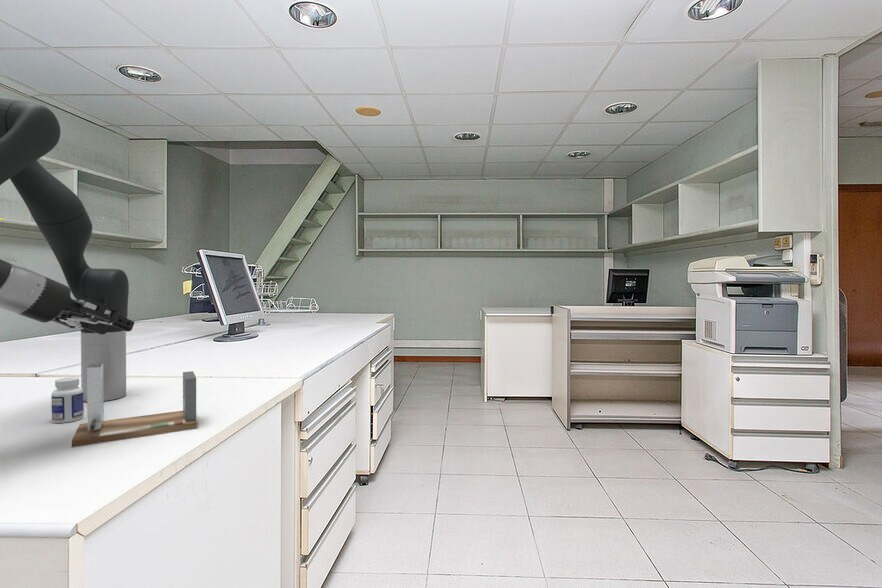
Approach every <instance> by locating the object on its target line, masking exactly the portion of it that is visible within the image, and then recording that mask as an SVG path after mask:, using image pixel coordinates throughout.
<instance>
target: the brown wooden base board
mask: <svg viewBox="0 0 882 588" xmlns="http://www.w3.org/2000/svg"><path fill="white" fill-rule="evenodd" d="M194 429H198V422H197V420H196V421H190V422H185V419H184V414H183V410H177V411H168V412H161V413H155V414H145V415H137V416H131V417H122V418H116V419H107V420H104V421H103V424H102V427H101V429H97V430H89V431H88V422H85V423H79V425H78V427H77V429H76V431H75V433H74V435H73V437H72V439H71V448H74V447H82V446H88V445H89V446H90V445H95V444H96V445H97V444H102V443H109V442H114V441H115V442H116V441H120V440H121V441H122V440H128V439H129V440H130V439H134V438H142V437H148V436H154V435H161V434H167V433H168V434H169V433H174V432H181V431H187V430H194Z"/></svg>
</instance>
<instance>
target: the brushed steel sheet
mask: <svg viewBox="0 0 882 588" xmlns="http://www.w3.org/2000/svg"><path fill="white" fill-rule="evenodd" d="M86 403H87V406H86V407H87V411H86V412H87V414H86V415H87V423H88V431H89V430H97V429H101V427H102V424H103V421H105V420H104V419H105V417H104V415H105V413H104V406H105V404H104V403H105V401H104V391H103V362H97V363H90V365H89V366H88V367H87V402H86Z"/></svg>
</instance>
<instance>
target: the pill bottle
mask: <svg viewBox="0 0 882 588" xmlns="http://www.w3.org/2000/svg"><path fill="white" fill-rule="evenodd" d="M79 385H80V377H75V376H72V377H71V376H70V377H64V378H63V377H62V378H58V379H55V381H54V386H55V388H56V389H55V390H53V391H52V392H51V398H50V399H51V420H52V423H55V424H65V423H72V422H73V423H74V422H76V421H79V420H82V419H83V418H84V416H85V413H84V412H85V410H84V406H85V405H84V402H85V401H83V389H82V388H81V386H79Z"/></svg>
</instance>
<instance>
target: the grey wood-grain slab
mask: <svg viewBox="0 0 882 588" xmlns="http://www.w3.org/2000/svg"><path fill="white" fill-rule="evenodd" d="M182 411H183V414H184V419H185V422H190V421H197V377H196V374H195V373H194V371H183V372H182Z"/></svg>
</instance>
